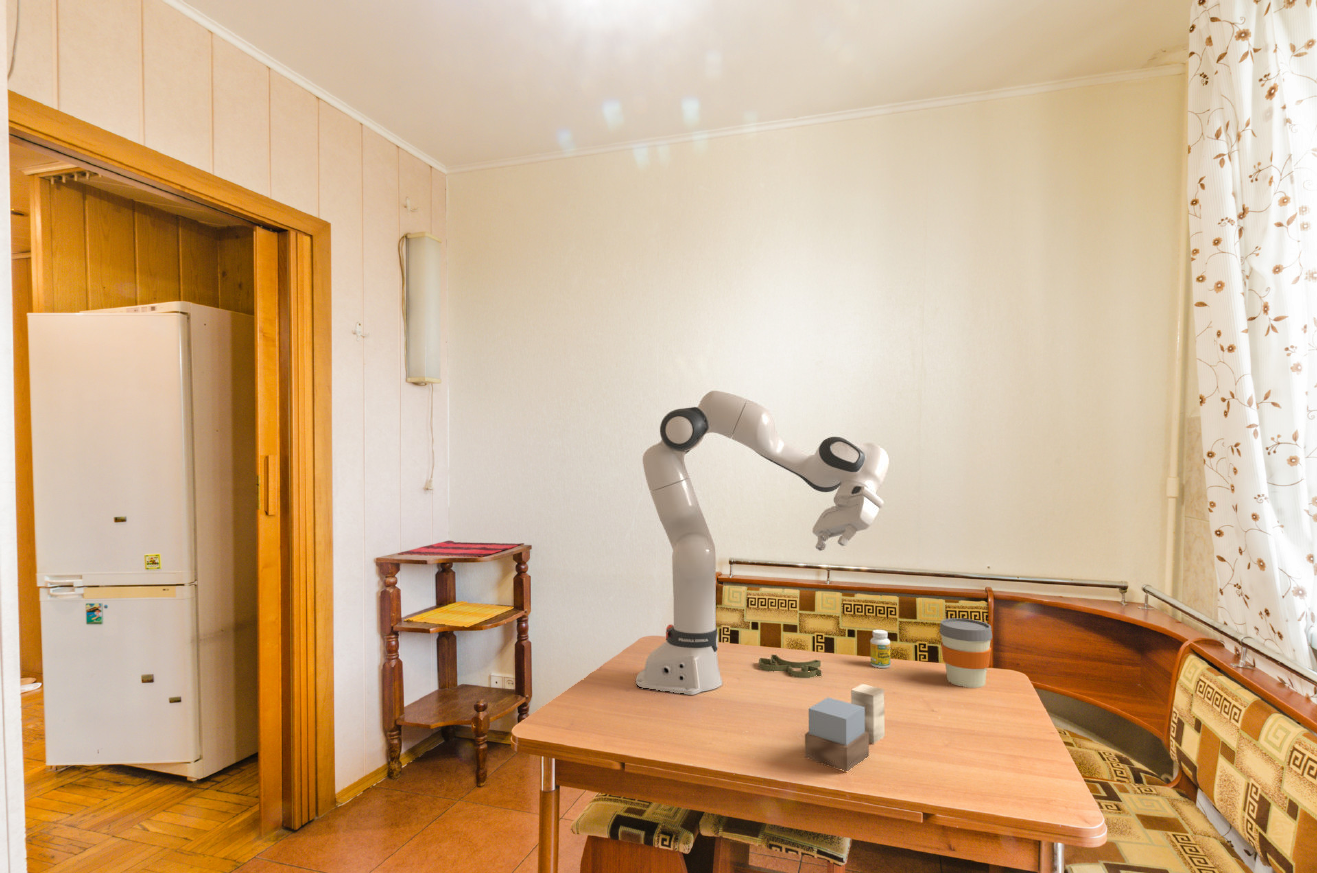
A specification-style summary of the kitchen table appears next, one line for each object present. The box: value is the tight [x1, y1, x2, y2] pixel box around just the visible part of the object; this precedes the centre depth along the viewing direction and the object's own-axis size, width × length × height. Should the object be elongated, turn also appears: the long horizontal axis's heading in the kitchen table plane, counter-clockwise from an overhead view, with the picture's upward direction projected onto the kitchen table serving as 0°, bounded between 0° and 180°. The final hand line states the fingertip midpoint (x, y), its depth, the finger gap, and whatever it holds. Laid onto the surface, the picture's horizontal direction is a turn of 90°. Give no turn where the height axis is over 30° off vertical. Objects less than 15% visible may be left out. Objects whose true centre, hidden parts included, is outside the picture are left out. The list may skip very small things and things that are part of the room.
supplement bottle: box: [869, 629, 892, 669], centre depth 189 cm, size 5×5×10 cm
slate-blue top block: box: [808, 697, 865, 746], centre depth 134 cm, size 8×8×5 cm
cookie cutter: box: [758, 654, 822, 679], centre depth 187 cm, size 18×12×2 cm, turn 65°
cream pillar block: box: [850, 683, 886, 745], centre depth 143 cm, size 5×5×10 cm
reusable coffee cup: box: [939, 617, 993, 689], centre depth 176 cm, size 13×12×15 cm
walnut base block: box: [804, 731, 870, 772], centre depth 133 cm, size 9×9×5 cm
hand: (830, 546), depth 161 cm, fingers open, 8 cm apart
